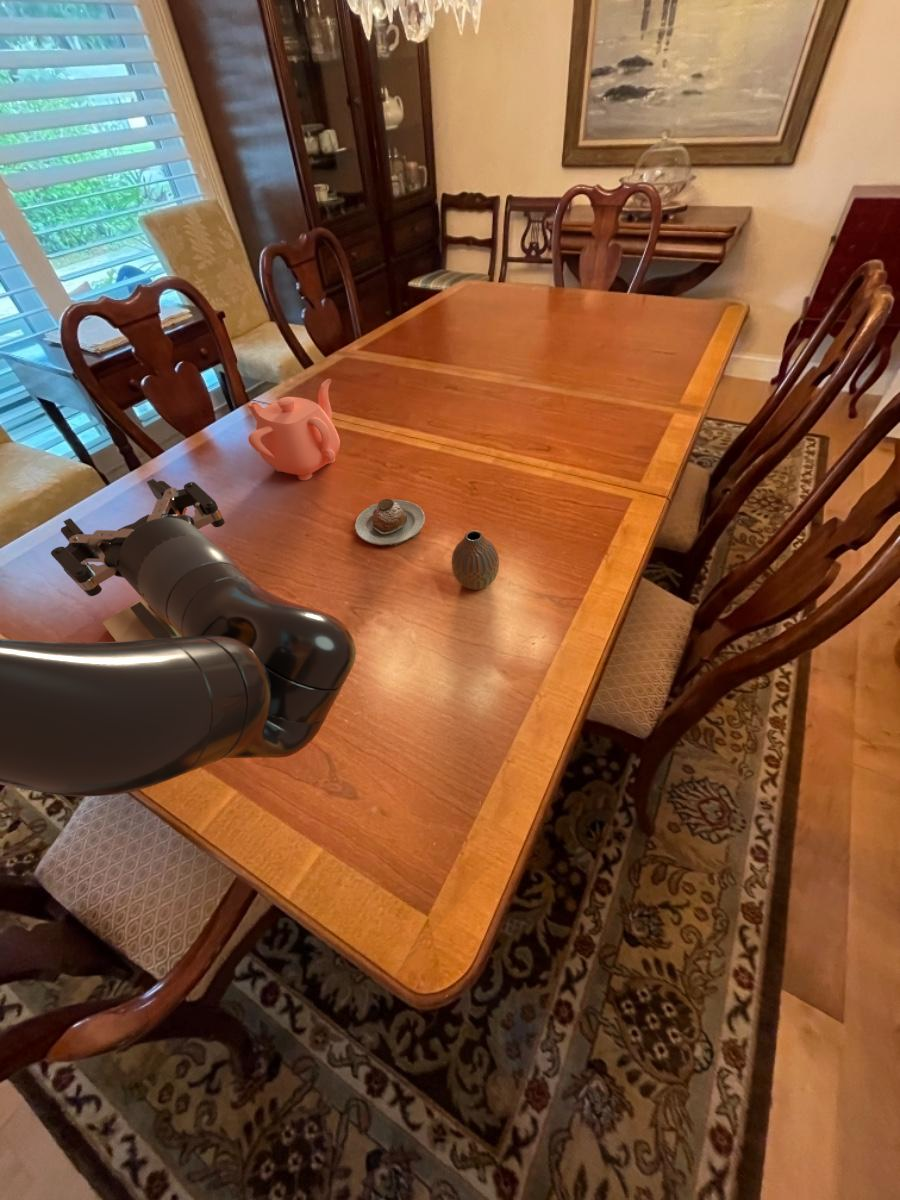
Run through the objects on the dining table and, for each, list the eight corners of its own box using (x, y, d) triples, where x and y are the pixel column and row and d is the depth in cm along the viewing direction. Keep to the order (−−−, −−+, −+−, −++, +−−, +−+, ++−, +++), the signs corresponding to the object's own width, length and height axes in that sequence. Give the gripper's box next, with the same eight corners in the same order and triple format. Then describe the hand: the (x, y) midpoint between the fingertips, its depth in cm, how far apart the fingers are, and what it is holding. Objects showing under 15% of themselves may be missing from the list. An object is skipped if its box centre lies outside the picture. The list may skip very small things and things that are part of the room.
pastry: (414, 498, 96) (411, 476, 93) (434, 537, 88) (431, 515, 85) (350, 515, 94) (344, 493, 91) (364, 557, 86) (358, 534, 83)
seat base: (152, 688, 71) (139, 672, 69) (107, 629, 80) (94, 613, 77) (255, 619, 78) (247, 603, 76) (204, 572, 87) (195, 555, 84)
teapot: (265, 451, 112) (242, 388, 103) (344, 435, 114) (329, 373, 105) (265, 493, 101) (240, 427, 92) (353, 475, 103) (338, 409, 94)
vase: (500, 596, 78) (499, 550, 72) (453, 598, 78) (448, 553, 72) (498, 563, 83) (497, 518, 76) (453, 566, 83) (449, 521, 77)
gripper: (241, 502, 47) (161, 444, 56) (77, 590, 41) (16, 510, 49) (268, 564, 52) (192, 503, 61) (128, 651, 46) (64, 569, 54)
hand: (113, 506), depth 55 cm, fingers open, 8 cm apart
